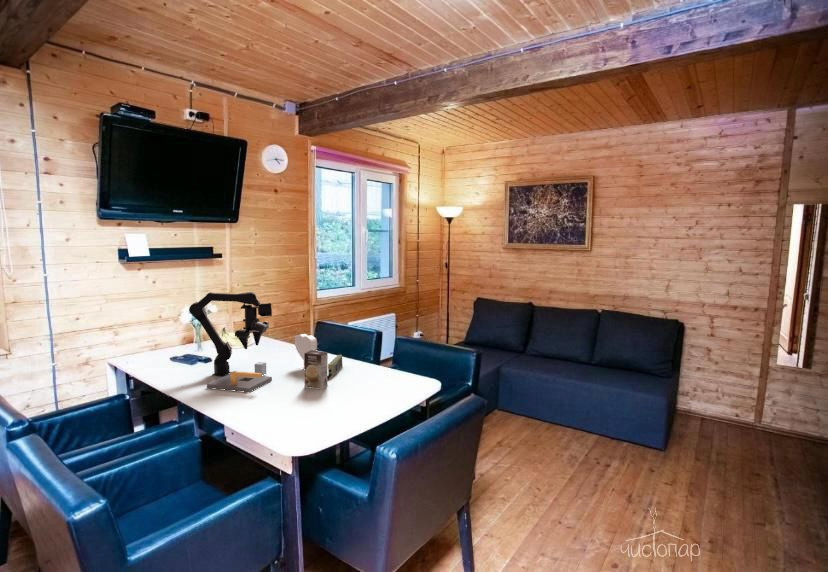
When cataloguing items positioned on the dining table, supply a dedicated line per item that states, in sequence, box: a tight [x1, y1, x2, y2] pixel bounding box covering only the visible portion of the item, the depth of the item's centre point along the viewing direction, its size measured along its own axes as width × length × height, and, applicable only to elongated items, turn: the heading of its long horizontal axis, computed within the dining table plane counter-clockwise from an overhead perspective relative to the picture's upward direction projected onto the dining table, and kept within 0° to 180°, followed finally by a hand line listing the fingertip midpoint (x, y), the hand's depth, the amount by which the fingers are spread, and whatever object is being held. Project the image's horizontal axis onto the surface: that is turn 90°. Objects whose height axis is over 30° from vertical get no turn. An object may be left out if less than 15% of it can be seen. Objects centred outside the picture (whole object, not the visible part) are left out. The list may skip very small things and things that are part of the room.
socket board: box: [206, 373, 273, 393], centre depth 208 cm, size 22×18×2 cm
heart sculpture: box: [294, 333, 318, 369], centre depth 234 cm, size 16×5×18 cm, turn 47°
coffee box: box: [303, 350, 329, 390], centre depth 205 cm, size 9×6×16 cm
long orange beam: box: [230, 370, 262, 385], centre depth 199 cm, size 3×14×6 cm, turn 82°
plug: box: [254, 361, 267, 376], centre depth 223 cm, size 4×4×6 cm
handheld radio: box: [327, 354, 343, 380], centre depth 228 cm, size 7×3×25 cm
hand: (251, 347), depth 227 cm, fingers open, 9 cm apart
